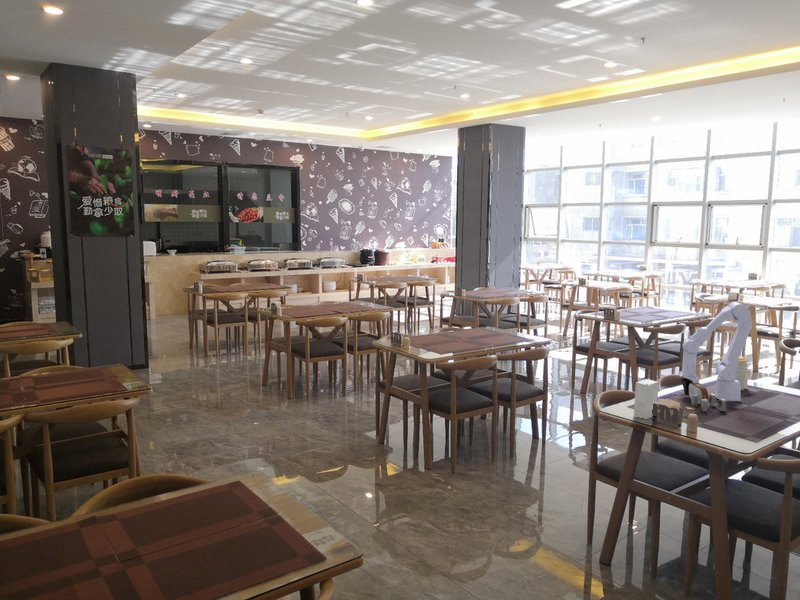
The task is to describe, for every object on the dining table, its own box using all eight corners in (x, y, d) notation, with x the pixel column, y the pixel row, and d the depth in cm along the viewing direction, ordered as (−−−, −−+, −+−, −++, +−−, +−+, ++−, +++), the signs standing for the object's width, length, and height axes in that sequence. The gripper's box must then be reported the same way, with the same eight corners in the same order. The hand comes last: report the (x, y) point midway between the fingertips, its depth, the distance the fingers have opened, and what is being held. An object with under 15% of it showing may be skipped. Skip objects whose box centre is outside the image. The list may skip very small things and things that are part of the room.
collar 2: (722, 410, 264) (723, 398, 263) (725, 411, 262) (726, 400, 261) (700, 410, 264) (701, 398, 263) (702, 411, 262) (703, 400, 261)
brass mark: (693, 407, 269) (693, 406, 269) (697, 409, 265) (697, 408, 265) (683, 407, 269) (683, 406, 269) (688, 409, 265) (688, 408, 265)
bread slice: (708, 407, 268) (709, 388, 267) (701, 407, 268) (702, 388, 267) (693, 398, 283) (694, 379, 282) (686, 397, 283) (687, 379, 282)
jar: (724, 382, 311) (727, 348, 308) (752, 388, 301) (754, 352, 298) (712, 387, 303) (714, 351, 300) (740, 392, 293) (742, 355, 290)
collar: (712, 405, 272) (713, 393, 271) (715, 406, 270) (715, 394, 269) (691, 405, 272) (691, 393, 271) (693, 406, 270) (694, 395, 269)
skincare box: (643, 413, 260) (645, 378, 258) (657, 416, 255) (659, 381, 254) (632, 417, 255) (634, 381, 253) (646, 420, 250) (648, 384, 248)
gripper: (673, 362, 290) (671, 390, 292) (688, 369, 276) (686, 399, 277) (688, 362, 290) (686, 390, 292) (704, 369, 276) (702, 399, 277)
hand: (687, 394), depth 285 cm, fingers closed
